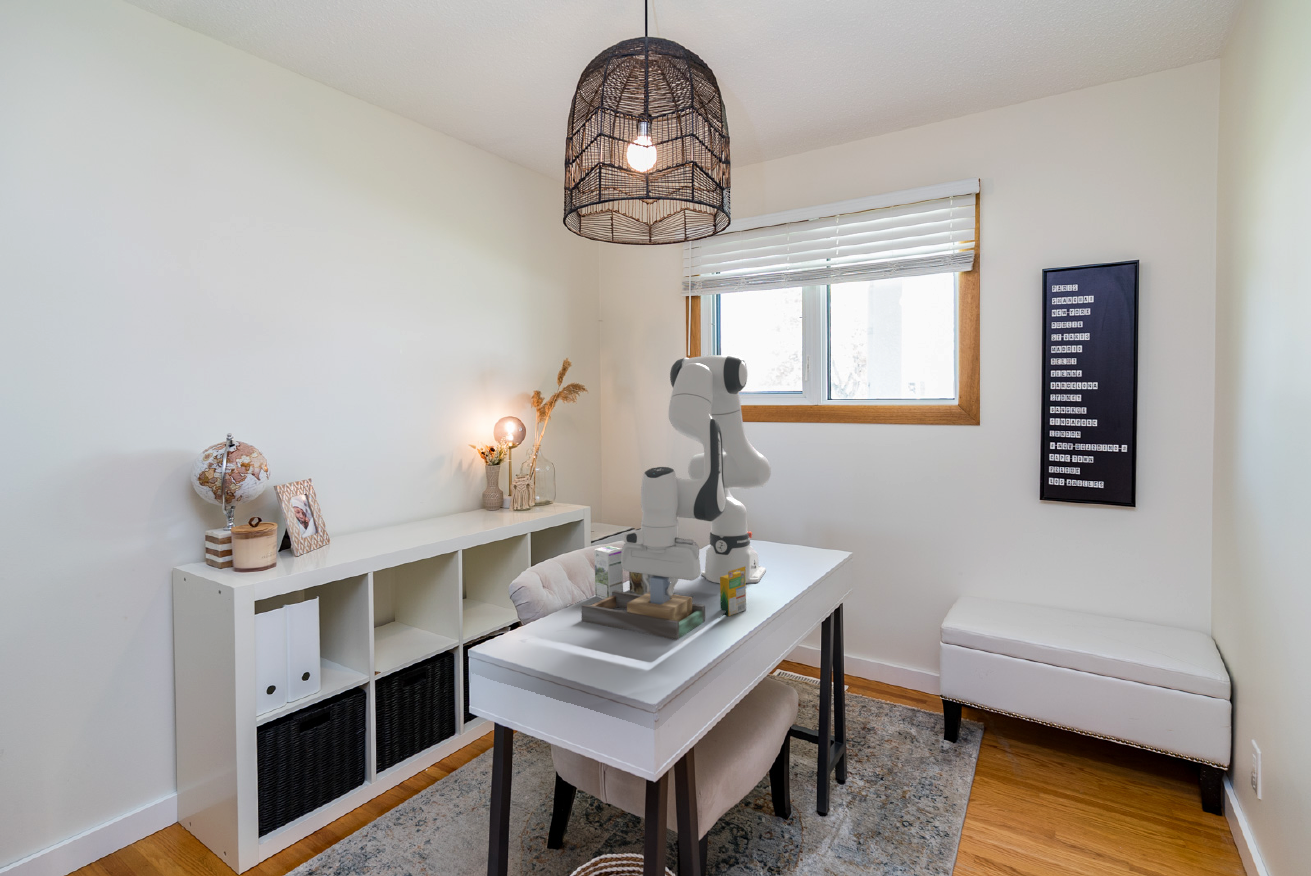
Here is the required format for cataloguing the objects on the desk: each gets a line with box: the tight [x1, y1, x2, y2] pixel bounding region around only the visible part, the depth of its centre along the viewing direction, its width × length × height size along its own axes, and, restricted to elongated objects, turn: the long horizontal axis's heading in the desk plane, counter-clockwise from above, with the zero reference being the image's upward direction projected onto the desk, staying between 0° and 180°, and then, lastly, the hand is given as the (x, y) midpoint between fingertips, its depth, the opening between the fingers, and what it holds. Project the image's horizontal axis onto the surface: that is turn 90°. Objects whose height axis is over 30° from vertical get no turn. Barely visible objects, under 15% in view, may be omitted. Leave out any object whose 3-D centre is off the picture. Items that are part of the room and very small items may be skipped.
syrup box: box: [594, 545, 624, 600], centre depth 176 cm, size 6×6×14 cm
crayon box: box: [719, 566, 747, 617], centre depth 165 cm, size 7×3×12 cm, turn 134°
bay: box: [580, 591, 706, 641], centre depth 156 cm, size 14×26×5 cm, turn 59°
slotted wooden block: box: [626, 593, 693, 622], centre depth 153 cm, size 11×11×6 cm
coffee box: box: [628, 572, 655, 595], centre depth 180 cm, size 9×6×16 cm
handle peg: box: [650, 575, 671, 605], centre depth 153 cm, size 4×4×10 cm
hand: (660, 593), depth 153 cm, fingers closed on handle peg, 3 cm apart
